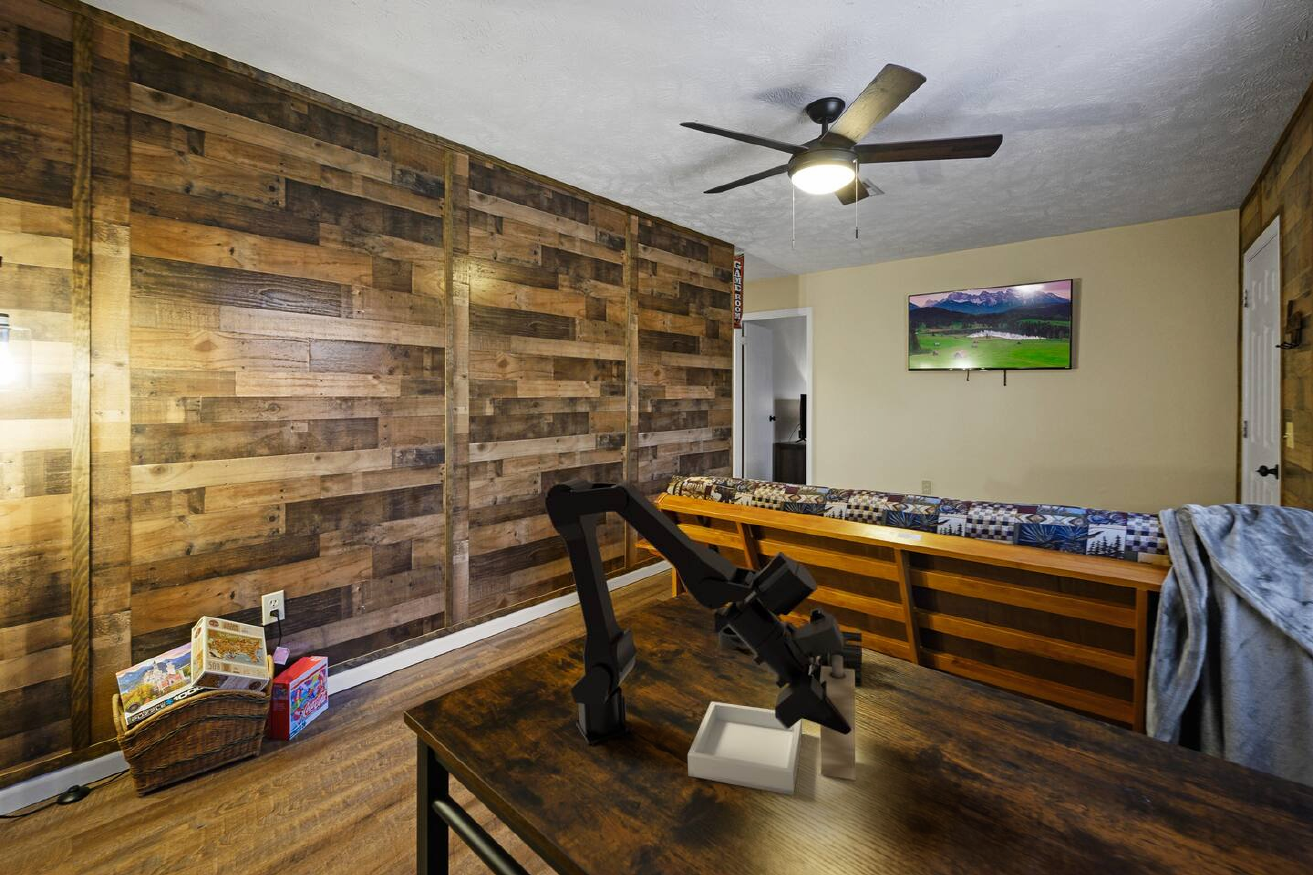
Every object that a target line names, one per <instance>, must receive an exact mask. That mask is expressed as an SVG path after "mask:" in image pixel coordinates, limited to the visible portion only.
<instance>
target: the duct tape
mask: <svg viewBox="0 0 1313 875" xmlns="http://www.w3.org/2000/svg"><path fill="white" fill-rule="evenodd" d="M718 644H719V647H721V648H723V649H726V650H733V651H735V650H742V649H743V650H747V649H748V650H751V649H750V648H749V647H748V646H747V645H746V644H745V643H744V641H743V640H742V639H741V638H740V637H739V636H738V635H737V634H736V633H735V632H734V631H733V630H732V629H731V628H730V627H729V626H728V625H727V626H726V627H725V628H723V629H722V630H721V631H720V632H719V633H718Z"/></svg>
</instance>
